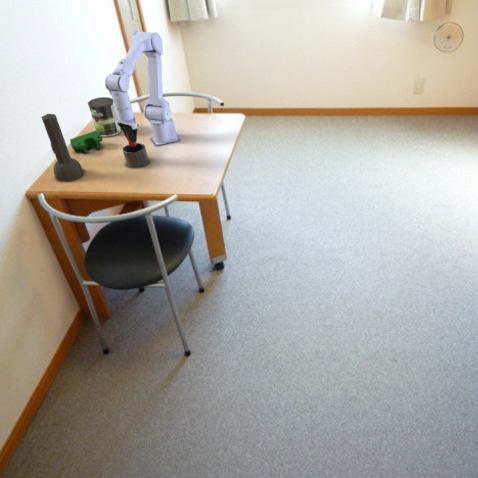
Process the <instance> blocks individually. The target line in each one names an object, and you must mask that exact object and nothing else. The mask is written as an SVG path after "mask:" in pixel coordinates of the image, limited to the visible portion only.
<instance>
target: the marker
mask: <svg viewBox="0 0 478 478" xmlns="http://www.w3.org/2000/svg"><path fill="white" fill-rule="evenodd" d="M124 126H126V124H124ZM126 135H127V133H126ZM127 139H128V140H127ZM126 140H127V142H128V145H129V146H131V147H134V146H136V145H137V143H138V142H137V141H136V142H133V143H131V141H130V140H129V137H128V135H127V138H126Z"/></svg>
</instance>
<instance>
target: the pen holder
mask: <svg viewBox="0 0 478 478" xmlns="http://www.w3.org/2000/svg"><path fill="white" fill-rule="evenodd" d="M136 143H137V145H136V146H134V147H131V146H129V144H127V145H124V146H123V148H122V153H123V155H124V160H125V163H126V166H127V167H129V168H132V169H133V168H134V169H135V168H141V167H144V166H147V164H148V163H149V156H148V152H147V148H146V145H145V144H144V143H141V142H136Z"/></svg>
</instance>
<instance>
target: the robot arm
mask: <svg viewBox="0 0 478 478" xmlns="http://www.w3.org/2000/svg"><path fill="white" fill-rule="evenodd" d="M130 42H131V45H130V47H129V49H128V50H127V53H126V56H125V57H124V58H120V59H119V61H118V63H117V65H116V66H115V68H114V70H113V72H111V73H110V74H108V75H107V76H106V77H105V80H104V82H105V83H104V86H105V88H106V90H108V92H109V95H110V96H111V98H112V99H113V103H114V106H115V110H116V116H117V118H118V119H117V120H115V121H116V123H117V124H118V125H119V126H120V129H121V131H122V132H123V135H124V136H125V138H126V140H127V141H128V139H127V135H128V137H129V140H130V141H131V143H133V142H136V143H137V142H138V141H137V140H138V130H139V126H140V125H139V124H138V123H137V121H136V117H135V116H134V111H133V106H132V104H131V103H132V102H131V100H130V96H129V89H130V82H131V77H132V75H133V73H134V72H135V70H136V66H135V63H136V62H137V60H138V59H139V58H140V56H141V55H142V54H144V55H145V56H146V57H147V71H148V91H149V93H148V94H149V97H148V98H147V99H146V100H145V101H144V108H143V115H144V118H145V119H146V120H147V121H148V122H149V123H150V126H151V131H152V136H153V137H151V139H152V141H153V142H154V144H155V145H156V146H161V145H165V144H169V143H173V142H178V141H179V137H178V133H177V128H176V123H175V121H174V119H173V118H172V110H171V108H170V107H171V105H170V102H168V101H167V99H165V98H164V91H163V65H162V55H164V54H163V53H164V51H163V50H164V49H163V48H164V47H163V38H162V37H161V35H160V34H159V32H156V31H155V32H150V31H138V30H135V31H133V32H132V34H131V36H130ZM124 124H126V126H124ZM126 133H127V135H126Z"/></svg>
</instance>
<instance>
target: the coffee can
mask: <svg viewBox="0 0 478 478" xmlns="http://www.w3.org/2000/svg"><path fill="white" fill-rule="evenodd" d="M87 106H88V108H89V112H90V115H91V117H92V121H93V125H94V128H95V131H97V132H98V133H99V134H100V135H101V136H102V138H109V137H113V136H117V135H118V134H120V133H121V131H122V129H121V128H120V126H119V125H118V124H117V123H116V121H115V120H117V119H118V118H117V116H116V109H115V105H114V102H113V98H112V97H108V96H107V97H106V96H102V97H96V98H92V99H90V100H89V101H88V102H87Z"/></svg>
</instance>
